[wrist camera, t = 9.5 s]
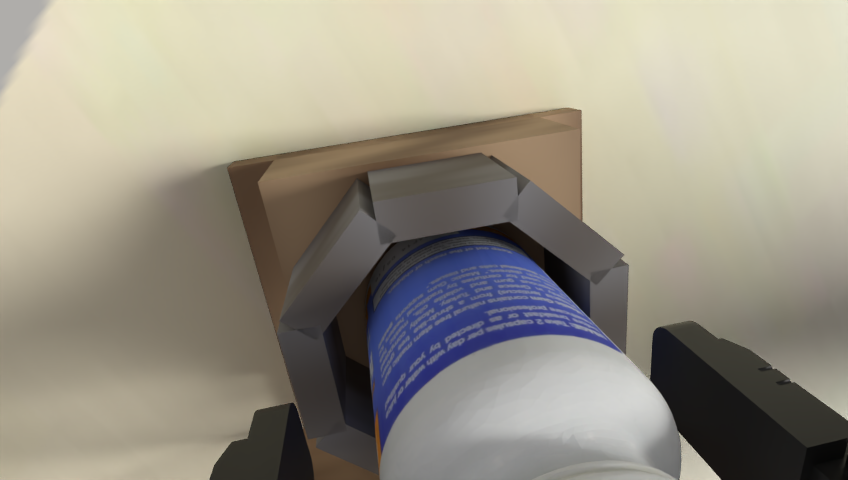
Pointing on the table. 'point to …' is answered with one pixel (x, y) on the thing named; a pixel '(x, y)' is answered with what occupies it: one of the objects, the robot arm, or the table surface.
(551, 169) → the bracket
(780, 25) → the table surface
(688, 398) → the robot arm
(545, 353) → the pill bottle
